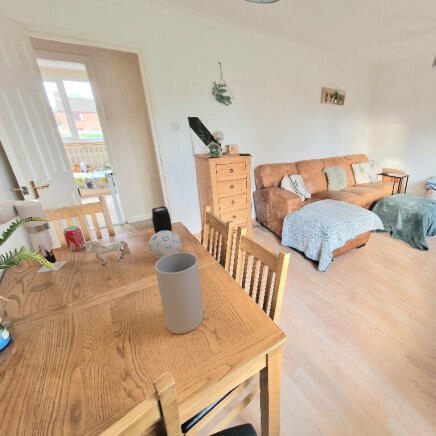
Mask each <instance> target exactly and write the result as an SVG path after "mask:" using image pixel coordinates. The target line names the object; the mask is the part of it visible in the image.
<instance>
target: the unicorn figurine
mask: <svg viewBox="0 0 436 436" xmlns="http://www.w3.org/2000/svg"><path fill="white" fill-rule="evenodd" d="M82 245H84V246H83V247H79V248H83V249H85V251H86V253H87V254H90V253H92V251H91V250H93V252H94V253H95V254H94V257H95V258H96V260H98V261H99V262H102V263H101V265H106V263H108V264H109V262H108V258H106V257H105V256H104V254H107V253H108V254H109V253H111V252H113V251H114V252H116V253H117V256H116V257H115V259H116V260H115V261H116V262H119V261H120V259H123V257H125V256H129V255H131V254H132V252H131V250H130V248H129V244H128V243H127V241H125V240H120V241H111V242H109V243H108V242H107V243H102V242H100V241H97V240H91V239H90V240H88V241H85V244H82Z"/></svg>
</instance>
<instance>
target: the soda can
mask: <svg viewBox="0 0 436 436" xmlns="http://www.w3.org/2000/svg"><path fill="white" fill-rule="evenodd" d="M62 233H63V237H64V240H65V243H66V247H67V248H68V250H69V251H71V252H78V251H81V250H84V248H79V247H83V246H84V245H82V244H85V243H86V241H85V238H84V235H83V231H82V229H80V227H79V226H77V225H74V226H72V225H71V226H68V227H65V228H64V229H63V232H62Z"/></svg>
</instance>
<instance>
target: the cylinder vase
mask: <svg viewBox="0 0 436 436" xmlns="http://www.w3.org/2000/svg"><path fill="white" fill-rule="evenodd" d="M198 259H199V258H198V256H197V255H196V254H194V253H191V252H188V251H187V252H186V251H185V252H182V251H180V252H179V253H173V254H170V255H167V256H165V257H163V258H161V259H160V260H159V259H157V261H156V262H155V263H154V270H155V274H156V279H157V285H158V290H159V296H160V301H161V305H162V309H163V310H162V311H163V316H164V321H165V326H166V328H167V330H168V331H169V332H171V333H173V334H177V335H178V334H179V335H182V334H187V333H189V332H192V331H194V330H195V329H197V328H198V327H199V326H200V325H201V324H202V322H203V321H204V317H205V316H204V305H203V296H202V287H201V277H200V269H199V260H198Z"/></svg>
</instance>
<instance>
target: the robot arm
mask: <svg viewBox="0 0 436 436" xmlns="http://www.w3.org/2000/svg"><path fill="white" fill-rule="evenodd" d="M29 217H41V218H45V219H47V216H46V213H45V211H44V208H43V206H42V203H41V201H39V200H37V199H24V200H15V199H5V200H1V201H0V226H1V225H4V224H6V223H9V222H10V221H11V220H14V219H15V218H19V219H20V221H21V220H22V219H26V218H29ZM22 226H23V228H24V231H25V233H26V234H27V235H29V240H30V242H31V246H32V248H33V251H34V253H35V252H39V254H40V253H41V256H42V257H43V259H44V258H46V259H47V260H48V261H49V262H51V263H55V262H57V258H56V256H55V253H54V252H53V246H54V241H53V238H52V235H51V233H50V229H51V226H50V224H49V221H48V219H47V221H29V222H26V223H24V224H22Z"/></svg>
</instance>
